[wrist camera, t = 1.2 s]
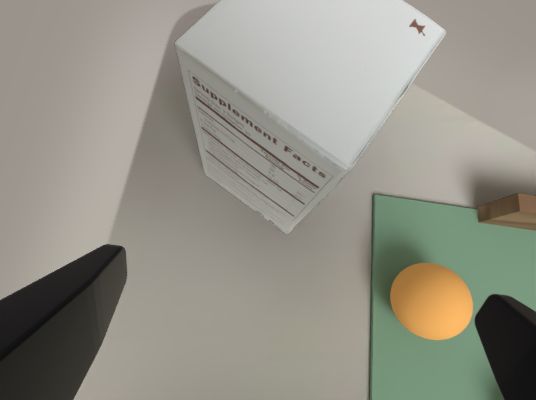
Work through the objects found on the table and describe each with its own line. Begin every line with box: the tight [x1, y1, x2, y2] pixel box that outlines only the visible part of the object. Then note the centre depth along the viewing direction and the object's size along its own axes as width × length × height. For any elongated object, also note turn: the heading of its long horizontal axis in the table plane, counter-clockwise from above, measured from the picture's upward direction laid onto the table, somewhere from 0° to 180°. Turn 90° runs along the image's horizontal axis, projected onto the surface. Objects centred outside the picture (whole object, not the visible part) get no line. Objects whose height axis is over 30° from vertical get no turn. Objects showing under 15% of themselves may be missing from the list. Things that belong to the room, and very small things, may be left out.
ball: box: [390, 263, 473, 340], centre depth 19 cm, size 4×4×4 cm
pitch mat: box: [370, 194, 536, 400], centre depth 22 cm, size 14×18×1 cm
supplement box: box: [174, 0, 446, 234], centre depth 17 cm, size 7×7×13 cm
